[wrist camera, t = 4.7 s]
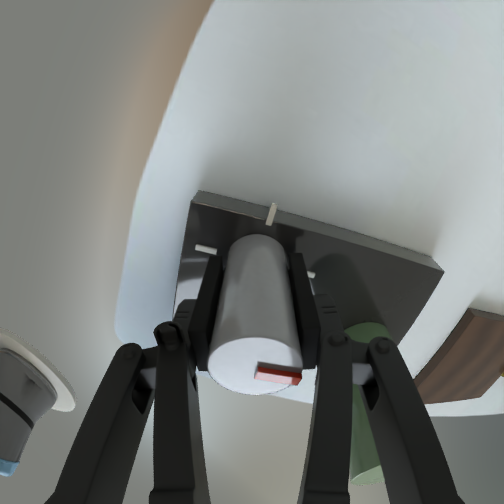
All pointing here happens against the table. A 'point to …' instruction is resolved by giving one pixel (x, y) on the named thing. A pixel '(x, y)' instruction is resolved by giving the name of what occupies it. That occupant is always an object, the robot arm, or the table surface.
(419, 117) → the table surface
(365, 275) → the hob
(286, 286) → the hob knob
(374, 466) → the green tapered cylinder
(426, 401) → the board
